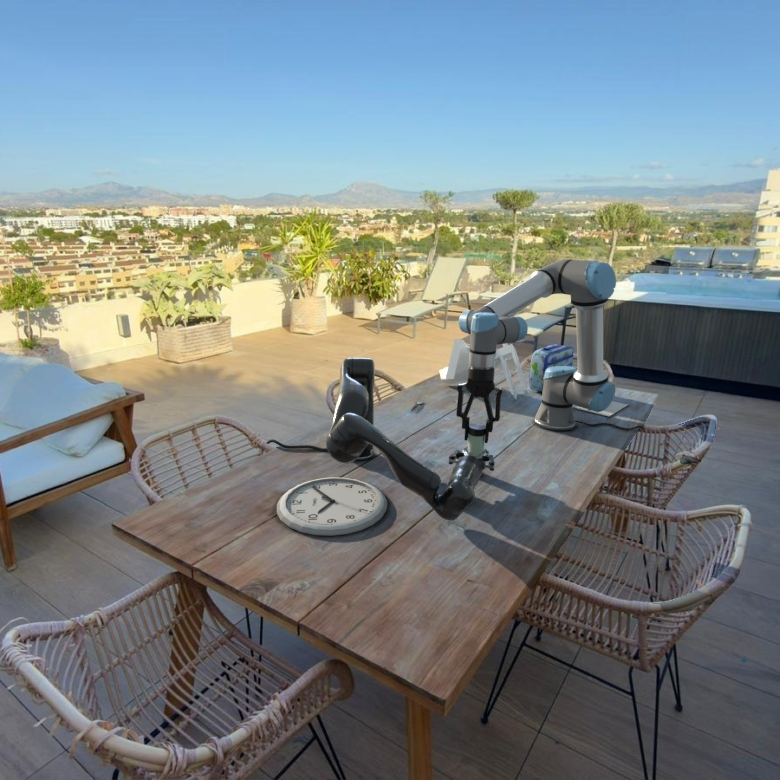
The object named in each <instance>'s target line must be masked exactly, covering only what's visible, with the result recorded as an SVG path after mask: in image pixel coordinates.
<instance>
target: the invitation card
mask: <svg viewBox="0 0 780 780" xmlns="http://www.w3.org/2000/svg"><path fill="white" fill-rule="evenodd" d="M628 406H629V404H627V403H623V402H618V401H614V400H612V402H611V403H610V405H609V406H608V407H607V408H606V409H605V410H603V411H601V412H595V411H592V410H588V409H585V408H582V407H579V406H576V405H575V406H574V407H573V409H575V410H581V411H584V412H587V413H593V414H596V415H600V416H604V417H608V418H609V417H611V416H613V415H614V414H616V413H617V412H619V411H621V410H623V409H624V408H626V407H628Z"/></svg>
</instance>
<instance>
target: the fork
mask: <svg viewBox="0 0 780 780" xmlns="http://www.w3.org/2000/svg"><path fill="white" fill-rule="evenodd" d="M424 401H425V396H421V395H420V396H419V397H418V400H417V402H416V404H415V405H414V406H413V407H412V408H411V410H410V411H411V412H413V411H414V410H415V409H417V407H418V406H419V405H422V404H423V403H424Z"/></svg>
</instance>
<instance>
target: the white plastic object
mask: <svg viewBox="0 0 780 780" xmlns="http://www.w3.org/2000/svg"><path fill="white" fill-rule="evenodd" d="M501 345H502V347H500V348H498V349H496V357H495V366H494V369H495V370H496V369H497V368H499V367H500V366H502V370H503V373H504V376H505V380H506V383H507V386H508V390H509V393H510V394H511V395H512V397H513V398H514V399H515V400H517V392H516V391H517V390H516V388H515V385H514V381H513V378H512V375H511V371H510V369H509V365H508V361H510V360H513V363H514V366H515V369H516V372H517V376H518V380H519V382H520V385H521V389H522V391H523V393H524V395H525V396H526V397H528V396H531V395H530V389H529V388H528V387H529V386H528V384H527V381H526V378H525V375H524V371H523V369H522V368H523V367H522V366H521V362H520V359H519V355H518V352H517V349H516V347H515V346H514V345H513V343H505V344H501ZM469 352H470V345H468V343H466V342H465V340H464V339H463V338H460V339H458V338H454V340H453V344H452V349H451V353H450V357H449V362H448V366H446V367H444V368H442V369H440V370H439V371H438V372H439V376H440V381H442V383H443V384H444V385H445V386H449V385H459V384H460V383H461V384H465V383H466V382H467V380H468V369H469V366H470V365H469Z"/></svg>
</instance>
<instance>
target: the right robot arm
mask: <svg viewBox="0 0 780 780" xmlns="http://www.w3.org/2000/svg"><path fill="white" fill-rule="evenodd" d="M616 285H617V276H616V272H615V270H614V268H613V267H612V266H611V265H610V264H609V263H607V262H604V261H599V260H587V259H586V260H583V259H570V258H569V259H568V258H567V259H561V260H558V261H555V262H552V263H550V264H547V265H545V266H543V267H541V268H540V269H538V270H536V271H534V272H533V273H532V274H531V275H530V277H529V278H528V279H526V280H525V281H523V282H522V283H520V284H518V285H517V286H514V287H513V288H511V289H510V290H508V291H507V292H504V293H503V294H502V295H500V296H498V297H496V298H495V299H493V300H492V301H490V302H488V303H487V304H485V305H483V306H481V307H480V308H478V309H476V310H474V309H466V310H464V311H462V313H461V314H460V316H459V318H458V327H459V330H460V331H461V332H462V333H464V334H467V335H470V336H469V337H470V338H469V339H470V341H469V347H470V352H469V365H470V366H469V369H468V380H467V382H466V383H459V384H457V386H456V389H457V404H456V415H455V416H456V417H457V418H461V429H462V430H464V438H463V439H464V441H468V437H469V433H468V425H469V424H470V416H468V415H469V413H470V411H471V407H472V404H473V402H474V400H475V398H481V399H483V402H484V406H485V412H486V415H487V419H486V421H485V426H486V431H485V440H484V444H488V442H489V434H490V433H492V432H493V430H494V423H495V422H500V419H501V406H502V394H503V391H504V388H503V387H499V386H496V383H495V382H494V381H495V370H496V369H494V366H495V357H496V350H497V345H502V344H505V343H507V344H514V343H517V342H520V341H522V340H524V339H525V338H526V336H527V335H528V331H529V330H528V329H529V327H528V324H527V321H526V319H524V318H523V316H522V317H521V316H514V315H516V314H517V313H519V312H520V311H522V310H523V309H525V308H527V307H529V306H530V305H532V304H534V303H535V302H537V301H538V300H540V299H542V298H543V299H546V298H549V297H550V296H552V295H567V296H570V304H571V305H572V306H573V307H574V308H575V324H576V325H575V326H576V356H577V357H576V358H577V359H576V361H577V363H576V364H577V367H576V366H572V367H571V366H555V367H549V368H547V369H546V370H545V375H544V378H543V379H544V381H543V391H542V392H541V393H542V394H541V402H540V405H539V407H538V410H537V411H536V413H535V416H534V424H535V425H536V426H537V427H539V428H542V429H544V430H549V431H556V432H567V431H572V430H574V429H575V428H576V423H577V424H582V425H585V426H589V427H596V426H597V427H598V426H602V425H604V426H611V427H614V428H617V429H619V430H623V431H632V430H636V429H639V428H640V429H641V430H646V429H645V427H644V426H642V425H636V426H632V427H623V426H619V425H617V424H614V423H610V422H598V423H588V422H585V421H581V420H578V419H576V418H575V417H576V416H575V413H574V407H573V406H575V407H576V406H579V407H582V408H585V409H588V410H592V411H595V412H601V411H603V410H605V409H606V408H607V407H608V406H609V405H610V403H611V402H612V401H614V397H615V394H616V384H615V383H614V382H613V381H610V380H609V373H608V371H607V370H605V369H604V306H605V305H606V304H607V303H608V302H609V299H610V298H611V297H612V296H613V294H614V293H615V289H616ZM466 389H467V390H468V391H469V394H470V395H469V397H468V401H467V404H466V406H465V408H464V411H463V404H464V403H463V402H464V394H465V391H466ZM493 391H494V395H495V409H494V411H495V413H493V412H494V411H493V408H492V402H491V398H490V394H491V393H492V392H493Z"/></svg>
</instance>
